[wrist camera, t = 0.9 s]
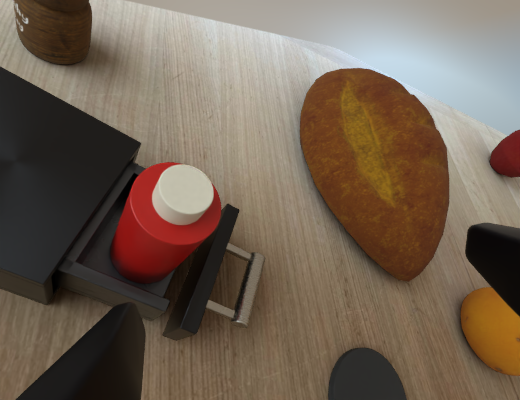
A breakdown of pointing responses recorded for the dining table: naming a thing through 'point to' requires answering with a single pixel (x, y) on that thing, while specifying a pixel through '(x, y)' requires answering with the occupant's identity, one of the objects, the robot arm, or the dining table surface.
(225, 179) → the dining table surface
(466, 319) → the fruit
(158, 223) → the ketchup bottle
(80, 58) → the utensil holder
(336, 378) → the disc
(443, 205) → the bread
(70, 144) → the cabinet
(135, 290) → the drawer
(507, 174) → the apple
